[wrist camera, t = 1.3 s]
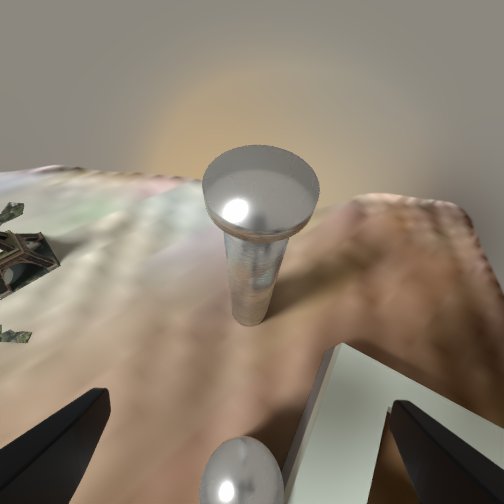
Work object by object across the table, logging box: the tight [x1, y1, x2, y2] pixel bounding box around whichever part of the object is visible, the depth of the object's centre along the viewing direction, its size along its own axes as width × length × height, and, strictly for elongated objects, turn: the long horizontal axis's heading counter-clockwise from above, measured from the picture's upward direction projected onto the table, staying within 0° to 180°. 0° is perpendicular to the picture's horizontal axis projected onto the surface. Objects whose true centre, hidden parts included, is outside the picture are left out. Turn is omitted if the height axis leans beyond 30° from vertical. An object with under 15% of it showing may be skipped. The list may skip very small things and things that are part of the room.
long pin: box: [202, 145, 320, 327], centre depth 16 cm, size 4×4×16 cm
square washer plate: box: [281, 342, 504, 504], centre depth 15 cm, size 10×13×4 cm
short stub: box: [199, 436, 284, 504], centre depth 15 cm, size 4×4×5 cm
